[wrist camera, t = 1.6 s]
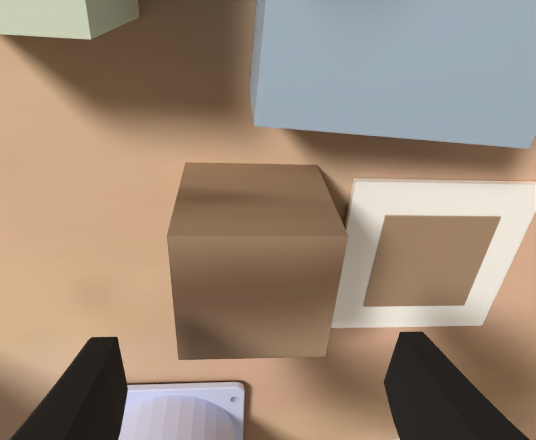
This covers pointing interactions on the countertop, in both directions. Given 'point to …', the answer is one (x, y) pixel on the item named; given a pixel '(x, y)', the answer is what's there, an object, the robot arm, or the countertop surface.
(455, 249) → the white flat square frame
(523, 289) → the countertop surface
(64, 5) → the sage cube
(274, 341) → the walnut cube
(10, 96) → the countertop surface
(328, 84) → the base block
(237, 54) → the countertop surface
